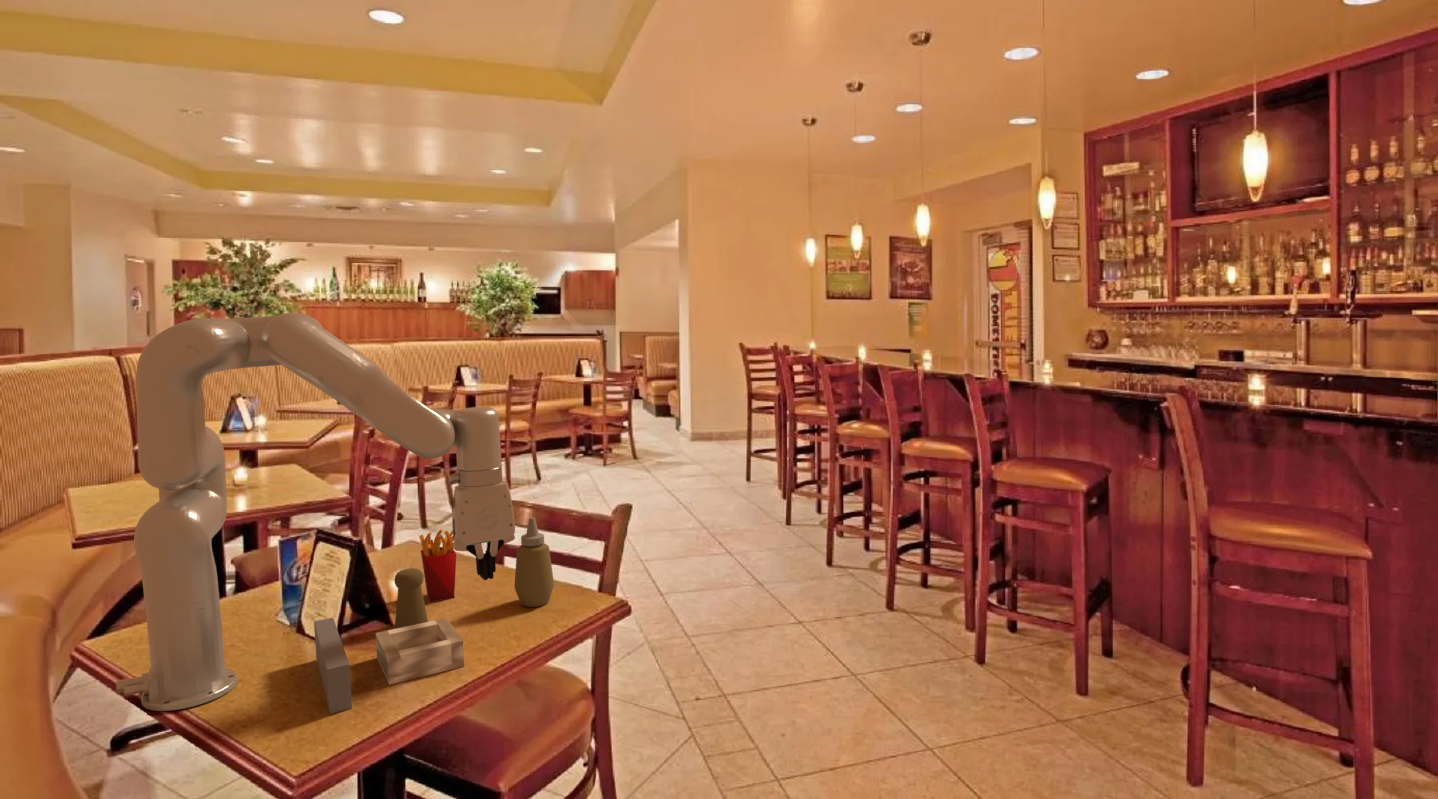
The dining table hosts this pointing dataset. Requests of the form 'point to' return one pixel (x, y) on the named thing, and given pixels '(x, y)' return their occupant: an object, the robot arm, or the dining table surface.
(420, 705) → the dining table surface
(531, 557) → the squeeze bottle
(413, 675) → the holder block
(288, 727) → the dining table surface
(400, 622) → the pepper mill
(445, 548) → the french fries
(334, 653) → the backstop wall
